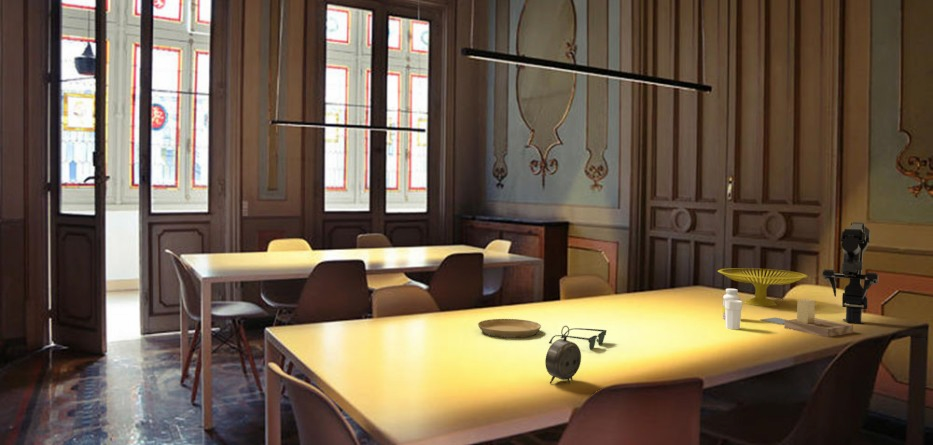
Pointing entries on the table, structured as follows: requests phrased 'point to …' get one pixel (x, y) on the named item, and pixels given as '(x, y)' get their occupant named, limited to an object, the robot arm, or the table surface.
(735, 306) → the cup
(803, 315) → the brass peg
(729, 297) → the supplement bottle
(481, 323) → the plant saucer
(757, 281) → the slatted pedestal fruit bowl
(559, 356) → the alarm clock
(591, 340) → the sunglasses
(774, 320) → the slate mat
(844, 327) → the two-hole peg block
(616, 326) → the table surface
